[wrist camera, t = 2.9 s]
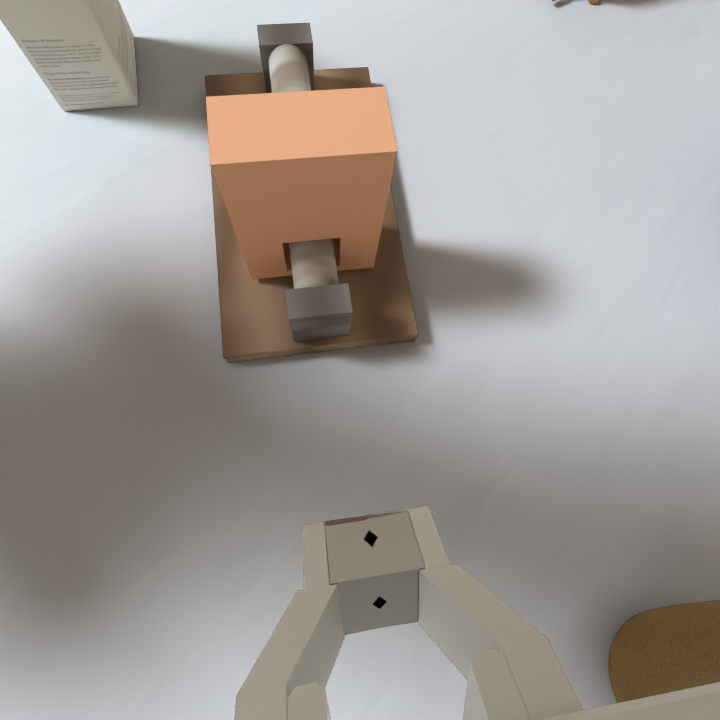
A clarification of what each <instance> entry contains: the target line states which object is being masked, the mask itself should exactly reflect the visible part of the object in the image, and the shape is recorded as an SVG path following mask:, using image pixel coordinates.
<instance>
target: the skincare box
mask: <svg viewBox="0 0 720 720" xmlns="http://www.w3.org/2000/svg"><path fill="white" fill-rule="evenodd" d="M0 20H1V21H2V23H3V24H4V26H5V27H6V28H7V30H8V31H9V33H10V34H11V36H12V37H13V39H14V40H15V41H16V43H17V44H18V46H19V47H20V49H21V50H22V52H23V53H24V55H25V56H26V57H27V59H28V60H29V62H30V63H31V65H32V66H33V68H34V69H35V70H36V72H37V73H38V75H39V76H40V78H41V79H42V81H43V82H44V83H45V85H46V86H47V88H48V89H49V91H50V92H51V94H52V95H53V97H54V98H55V99H56V101H57V102H58V104H59V105H60V107H61V108H62V109H63V110H64V111H75V110H87V109H99V108H112V107H125V106H137V105H138V91H137V75H136V61H135V47H134V37H133V33H132V31H131V29H130V26H129V24H128V22H127V20H126V17H125V15H124V12H123V10H122V8H121V5H120V3H119V1H118V0H0Z"/></svg>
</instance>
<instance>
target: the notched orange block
mask: <svg viewBox="0 0 720 720" xmlns="http://www.w3.org/2000/svg"><path fill="white" fill-rule="evenodd" d="M206 108H207V123H208V139H209V155H210V166H211V168H212V171H213V174H214V177H215V179H216V182H217V185H218V187H219V190H220V193H221V196H222V198H223V201H224V204H225V207H226V209H227V212H228V215H229V217H230V220H231V223H232V226H233V228H234V231H235V234H236V236H237V239H238V242H239V245H240V247H241V250H242V253H243V256H244V258H245V261H246V264H247V266H248V269H249V272H250V275H251V277H252V279H262V278H272V277H282V276H292V266H291V257H290V248H289V242H300V241H311V240H322V239H332V240H333V248H334V255H335V262H336V269H337V271H343V270H353V269H363V268H373V267H374V263H375V258H376V253H377V248H378V244H379V239H380V234H381V229H382V224H383V219H384V214H385V209H386V204H387V199H388V195H389V190H390V185H391V180H392V175H393V170H394V165H395V160H396V155H397V147H396V142H395V137H394V132H393V127H392V122H391V117H390V111H389V106H388V101H387V96H386V91H385V87H368V88H351V89H333V90H316V91H298V92H280V93H263V94H245V95H228V96H210V97H206Z"/></svg>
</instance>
